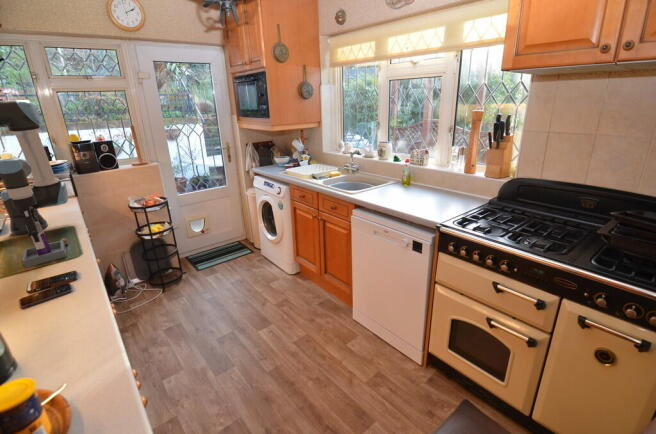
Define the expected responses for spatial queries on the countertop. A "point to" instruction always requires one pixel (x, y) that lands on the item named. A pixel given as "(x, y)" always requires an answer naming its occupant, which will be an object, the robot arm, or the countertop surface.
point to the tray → (33, 259)
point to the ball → (64, 240)
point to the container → (44, 240)
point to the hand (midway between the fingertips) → (41, 243)
